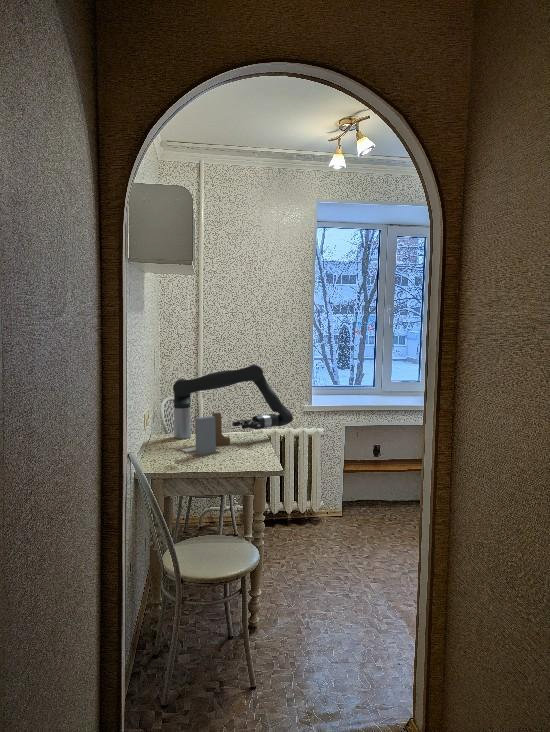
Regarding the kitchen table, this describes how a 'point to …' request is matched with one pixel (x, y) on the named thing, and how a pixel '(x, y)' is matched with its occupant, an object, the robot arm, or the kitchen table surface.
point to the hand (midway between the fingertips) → (237, 425)
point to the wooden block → (220, 431)
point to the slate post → (205, 435)
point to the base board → (194, 451)
